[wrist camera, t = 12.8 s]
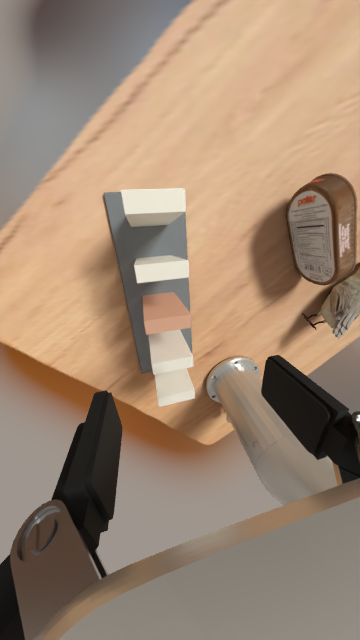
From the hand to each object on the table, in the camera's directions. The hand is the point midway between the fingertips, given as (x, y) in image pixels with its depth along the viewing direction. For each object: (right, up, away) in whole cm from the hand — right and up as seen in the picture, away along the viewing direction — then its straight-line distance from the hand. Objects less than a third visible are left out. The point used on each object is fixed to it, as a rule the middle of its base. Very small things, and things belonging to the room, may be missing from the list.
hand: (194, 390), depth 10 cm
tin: (+19, +18, +19) cm, 32 cm away
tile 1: (-5, +18, +12) cm, 22 cm away
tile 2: (-5, +13, +15) cm, 20 cm away
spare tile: (-4, +8, +17) cm, 19 cm away
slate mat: (-4, +8, +17) cm, 20 cm away
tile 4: (-4, +3, +19) cm, 20 cm away
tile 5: (-3, -2, +22) cm, 22 cm away
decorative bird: (+30, +10, +25) cm, 40 cm away
